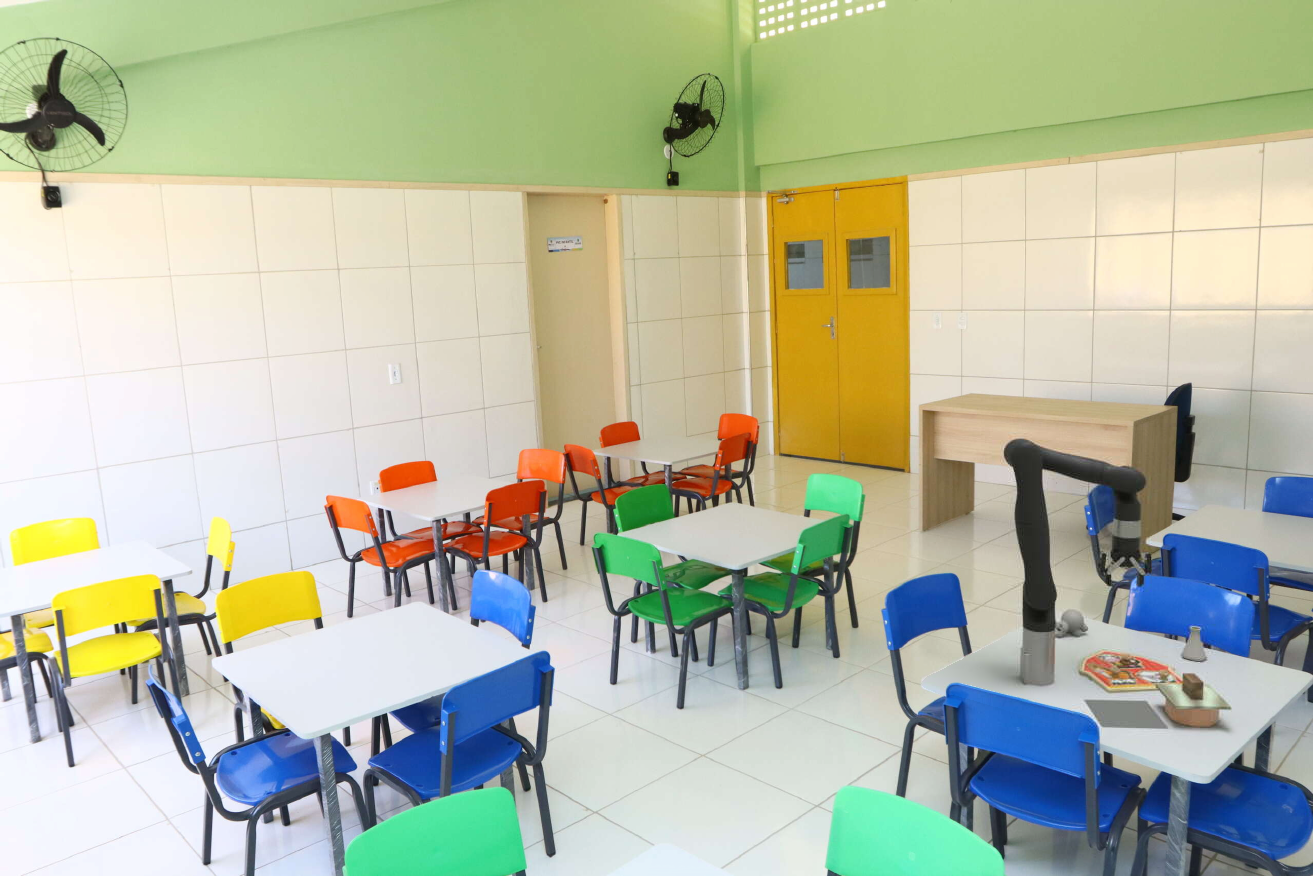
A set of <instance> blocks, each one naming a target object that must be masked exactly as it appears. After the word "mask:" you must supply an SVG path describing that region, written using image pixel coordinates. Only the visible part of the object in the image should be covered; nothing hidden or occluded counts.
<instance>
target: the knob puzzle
mask: <svg viewBox="0 0 1313 876" xmlns="http://www.w3.org/2000/svg"><path fill="white" fill-rule="evenodd" d="M1174 670H1175V666H1173V665H1170V664H1168V663H1166V662H1165V663H1164V662H1161V661H1158V660H1156V659H1152V658H1149V657H1147V656H1143V655H1138V654H1132V653H1128V652H1121V651H1114V650H1108V649H1101V650H1098V651H1096V652H1093V653H1091V654H1089V655H1086V656H1085V657H1084V658H1082V659H1081V661H1080V665H1079V668H1078V675H1080V676H1082V677H1086V678H1088V679H1089V680H1090V681H1092V682H1094V683H1095V684H1096V685H1097V686H1099V687H1100V688H1101V689H1103V691H1105V692H1106V693H1108V694H1117V693H1119V694H1120V693H1137V692H1138V693H1139V692H1154V691H1156V692H1158V691H1159V690H1158V689H1157V688H1156V684H1182V681H1183V676H1181V675H1180V674H1179V672H1177V671H1174Z"/></svg>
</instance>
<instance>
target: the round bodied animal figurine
mask: <svg viewBox="0 0 1313 876" xmlns="http://www.w3.org/2000/svg"><path fill="white" fill-rule="evenodd" d="M1088 631H1089V627H1088V625H1087V623H1085V619H1084V617H1083V614H1082V613H1081V611H1078V610H1076V609H1067V610H1065V611H1064V612H1062V614H1061V618H1060V621H1056V627H1055V638H1062V637H1063V636H1064V634H1066V633H1067V634H1073V636H1074V637H1077V638H1078V637H1080V636H1081V635H1082V633H1085V632H1088Z"/></svg>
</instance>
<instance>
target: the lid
mask: <svg viewBox="0 0 1313 876" xmlns="http://www.w3.org/2000/svg"><path fill="white" fill-rule="evenodd" d="M1182 677H1183V681H1182V684H1156V688H1157V689H1158V690H1157V691H1159V692H1160V693H1161V695H1163V697H1164V699H1165V700H1166V699H1167V700H1168V701H1169V702H1170V703H1171V705H1172V706H1173V707H1174V708H1175V709H1219V710H1228V711H1230V710H1232V706H1231V705H1230V704H1229V703H1228V702H1227V701H1226V700H1225V699H1224V697H1222V696H1221V695H1220V694H1219V693H1218V692H1217V691H1216V690H1215V689H1214V688H1213V687H1212V686H1211V685H1210V684H1204V683H1205V682H1204V681H1202V679H1201V678H1200V677H1198V676H1197V674H1196V673H1194V672H1193V673H1192V672H1191V673H1189V672H1182Z"/></svg>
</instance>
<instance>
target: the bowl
mask: <svg viewBox="0 0 1313 876" xmlns="http://www.w3.org/2000/svg"><path fill="white" fill-rule="evenodd" d="M1164 712H1165V713H1166V714H1167V716H1168V718H1169V719H1171V720H1172V721H1173V722H1176V723H1179V724H1182V725H1185V726H1190V727H1197V728H1206V727H1207V728H1208V727H1212V726H1214V725H1215V724H1216V723H1218V722H1219V717H1220V709H1175V708H1174V707H1173V706H1172V705H1171V703H1170V702H1169V701H1168V700H1167V699H1166V698H1165V708H1164Z"/></svg>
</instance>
